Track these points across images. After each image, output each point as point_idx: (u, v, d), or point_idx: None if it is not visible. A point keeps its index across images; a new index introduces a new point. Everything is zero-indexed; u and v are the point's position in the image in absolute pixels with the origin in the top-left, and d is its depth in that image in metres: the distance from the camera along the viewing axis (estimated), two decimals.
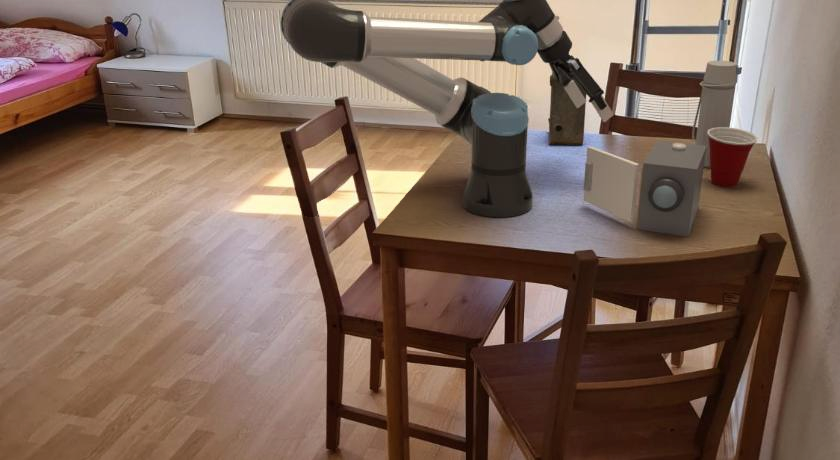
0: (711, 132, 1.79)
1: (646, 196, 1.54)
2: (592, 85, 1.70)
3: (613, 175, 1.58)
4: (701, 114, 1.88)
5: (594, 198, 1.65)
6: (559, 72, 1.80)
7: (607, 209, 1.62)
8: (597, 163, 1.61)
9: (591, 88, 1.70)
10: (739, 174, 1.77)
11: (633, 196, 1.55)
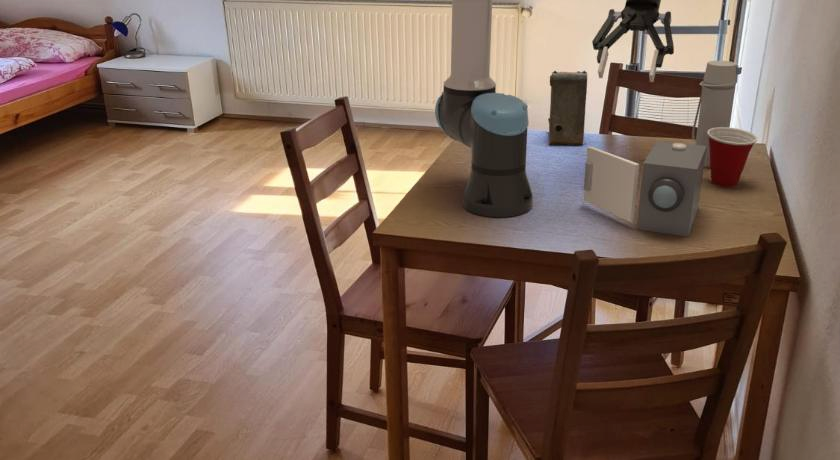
0: (711, 132, 1.79)
1: (646, 196, 1.54)
2: None
3: (613, 175, 1.58)
4: (701, 114, 1.88)
5: (594, 198, 1.65)
6: (626, 23, 1.75)
7: (607, 209, 1.62)
8: (597, 163, 1.61)
9: None
10: (739, 174, 1.77)
11: (633, 196, 1.55)
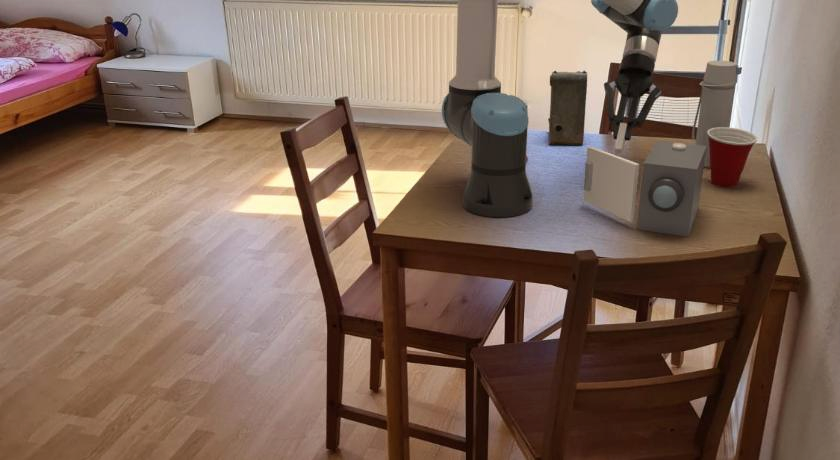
0: (711, 132, 1.79)
1: (646, 196, 1.54)
2: (646, 114, 1.73)
3: (613, 175, 1.58)
4: (701, 114, 1.88)
5: (594, 198, 1.65)
6: (627, 92, 1.75)
7: (607, 209, 1.62)
8: (597, 163, 1.61)
9: (645, 114, 1.72)
10: (739, 174, 1.77)
11: (633, 196, 1.55)
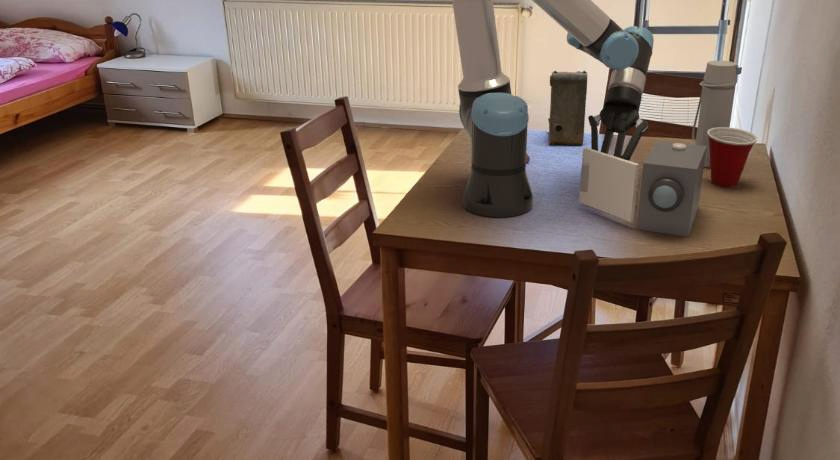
0: (711, 132, 1.79)
1: (646, 196, 1.54)
2: (632, 151, 1.66)
3: (611, 175, 1.58)
4: (701, 114, 1.88)
5: (591, 199, 1.64)
6: (612, 127, 1.67)
7: (605, 210, 1.61)
8: (594, 164, 1.61)
9: (631, 151, 1.65)
10: (739, 174, 1.77)
11: (633, 196, 1.55)
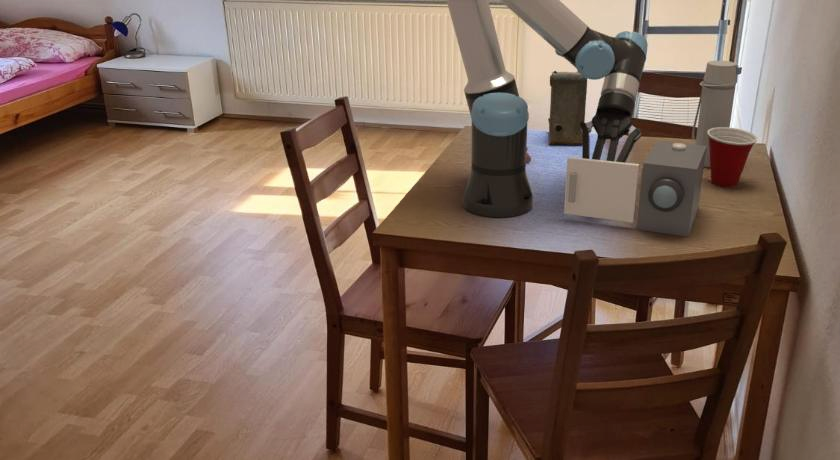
0: (711, 132, 1.79)
1: (646, 196, 1.54)
2: (625, 158, 1.61)
3: (607, 180, 1.55)
4: (701, 114, 1.88)
5: (580, 208, 1.60)
6: (604, 134, 1.63)
7: (600, 216, 1.59)
8: (583, 172, 1.56)
9: (624, 159, 1.61)
10: (739, 174, 1.77)
11: (635, 197, 1.54)
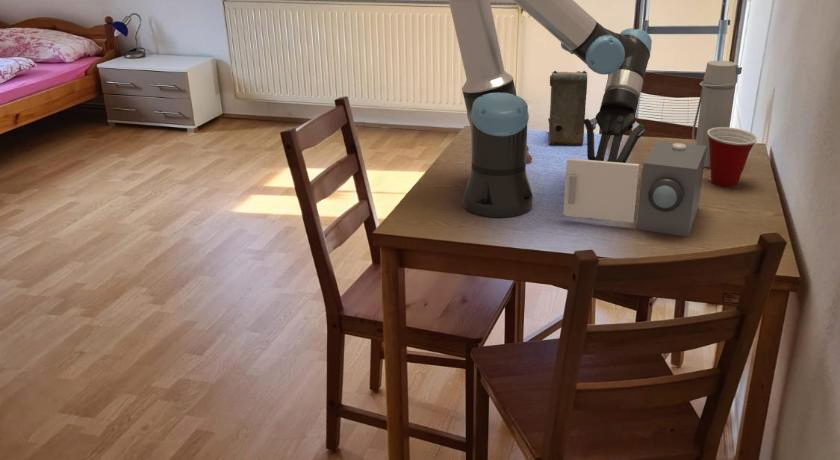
0: (711, 132, 1.79)
1: (646, 196, 1.54)
2: (628, 154, 1.62)
3: (607, 181, 1.55)
4: (701, 114, 1.88)
5: (580, 209, 1.59)
6: (608, 130, 1.64)
7: (600, 217, 1.58)
8: (583, 173, 1.56)
9: (626, 154, 1.62)
10: (739, 174, 1.77)
11: (635, 197, 1.54)
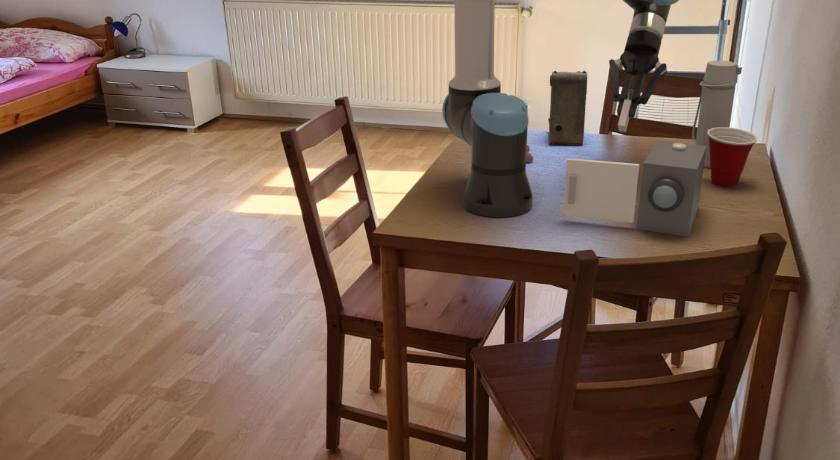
0: (711, 132, 1.79)
1: (646, 196, 1.54)
2: (651, 92, 1.71)
3: (607, 181, 1.55)
4: (701, 114, 1.88)
5: (580, 209, 1.59)
6: (632, 69, 1.73)
7: (600, 217, 1.58)
8: (583, 173, 1.56)
9: (650, 92, 1.70)
10: (739, 174, 1.77)
11: (635, 197, 1.54)
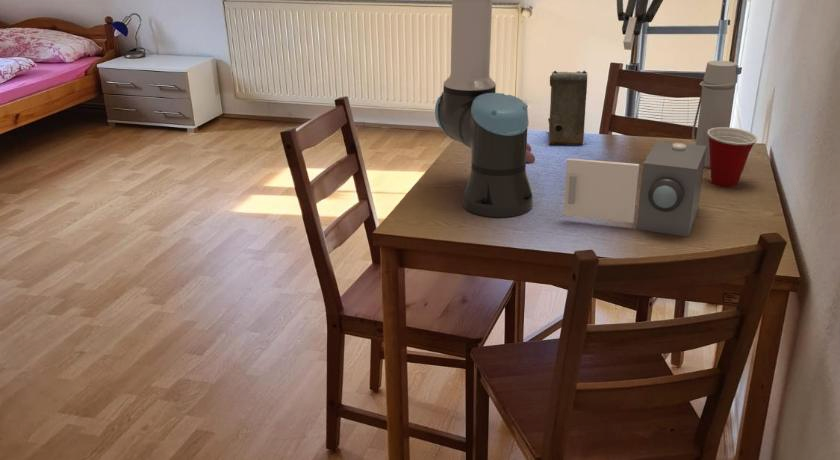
0: (711, 132, 1.79)
1: (646, 196, 1.54)
2: (656, 9, 1.69)
3: (607, 181, 1.55)
4: (701, 114, 1.88)
5: (580, 209, 1.59)
6: None
7: (600, 217, 1.58)
8: (583, 173, 1.56)
9: (655, 9, 1.69)
10: (739, 174, 1.77)
11: (635, 197, 1.54)
